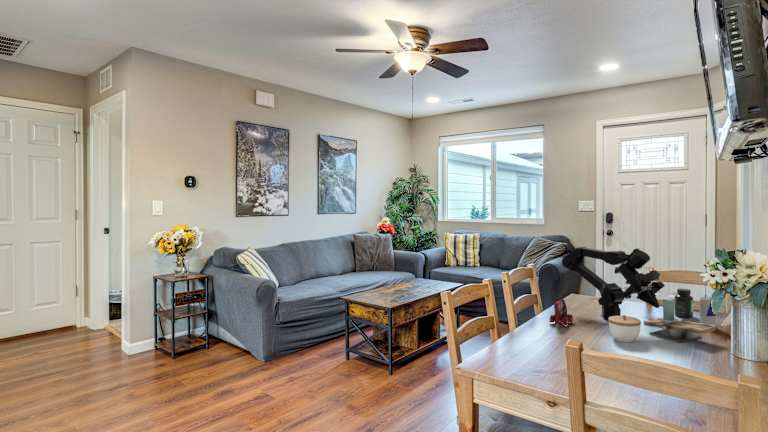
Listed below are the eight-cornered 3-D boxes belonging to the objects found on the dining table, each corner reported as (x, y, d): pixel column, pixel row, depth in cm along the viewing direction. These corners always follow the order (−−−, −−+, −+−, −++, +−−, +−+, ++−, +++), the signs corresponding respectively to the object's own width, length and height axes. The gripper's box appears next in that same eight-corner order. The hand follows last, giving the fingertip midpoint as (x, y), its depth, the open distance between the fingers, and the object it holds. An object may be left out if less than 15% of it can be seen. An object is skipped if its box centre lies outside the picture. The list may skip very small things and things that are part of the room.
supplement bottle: (697, 318, 186) (697, 291, 185) (681, 318, 186) (681, 291, 185) (686, 314, 192) (686, 287, 192) (671, 314, 193) (670, 288, 192)
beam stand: (649, 334, 166) (649, 321, 166) (672, 329, 172) (672, 316, 171) (678, 343, 156) (678, 328, 156) (702, 337, 162) (702, 323, 161)
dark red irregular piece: (574, 321, 186) (574, 298, 186) (564, 328, 177) (564, 304, 176) (558, 319, 191) (557, 296, 190) (548, 326, 181) (547, 301, 181)
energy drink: (719, 330, 169) (719, 300, 169) (703, 329, 170) (703, 299, 170) (711, 326, 174) (711, 297, 174) (696, 325, 175) (696, 296, 175)
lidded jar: (643, 345, 155) (643, 319, 154) (610, 342, 158) (610, 317, 158) (637, 336, 165) (637, 312, 164) (606, 334, 168) (606, 310, 168)
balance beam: (644, 325, 170) (643, 320, 170) (658, 322, 174) (658, 317, 174) (700, 334, 151) (700, 329, 151) (715, 330, 155) (715, 325, 155)
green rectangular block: (658, 322, 166) (658, 300, 166) (669, 319, 169) (668, 298, 168) (668, 324, 163) (668, 302, 163) (678, 322, 165) (678, 300, 165)
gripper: (629, 266, 170) (657, 298, 160) (659, 262, 177) (687, 293, 168) (612, 282, 177) (637, 314, 168) (641, 277, 185) (667, 308, 175)
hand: (658, 307), depth 169 cm, fingers closed
